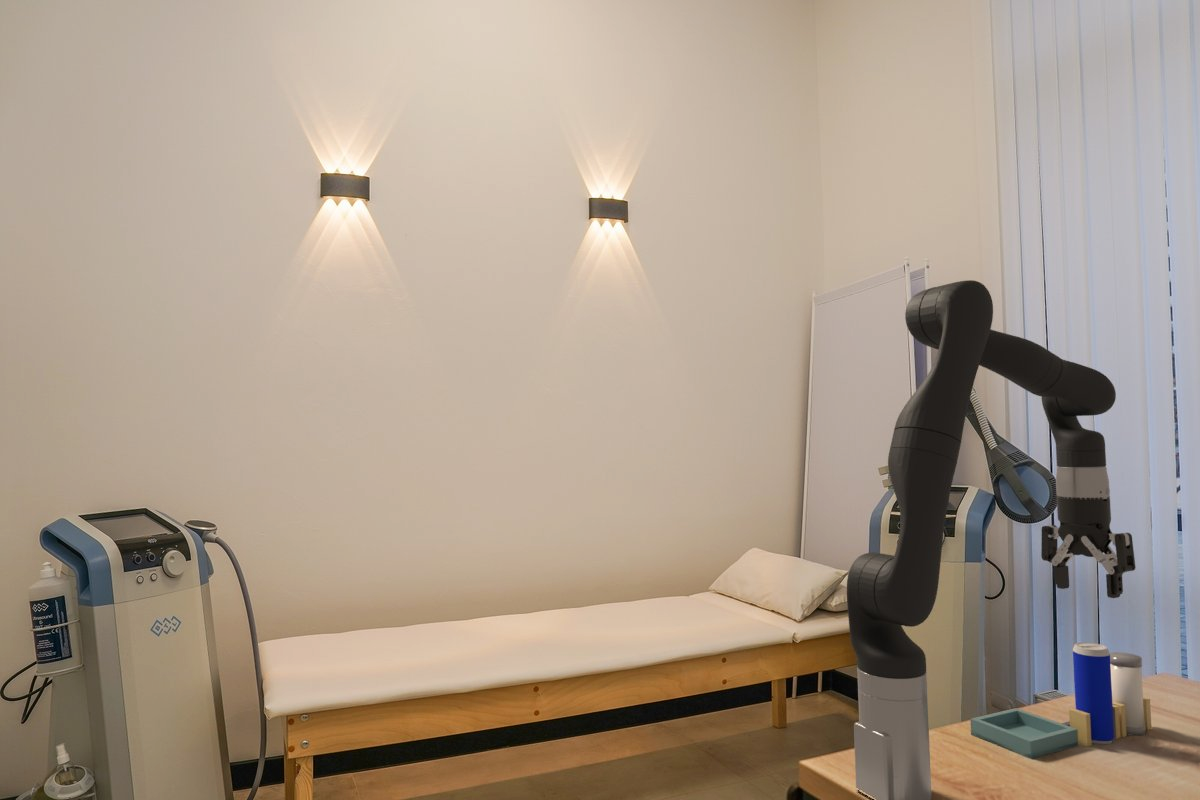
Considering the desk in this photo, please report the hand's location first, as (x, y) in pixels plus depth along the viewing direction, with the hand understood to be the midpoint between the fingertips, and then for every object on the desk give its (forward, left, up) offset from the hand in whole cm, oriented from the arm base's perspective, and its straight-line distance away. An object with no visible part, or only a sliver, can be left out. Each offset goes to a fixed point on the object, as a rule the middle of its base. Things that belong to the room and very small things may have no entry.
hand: (1087, 592), depth 128 cm
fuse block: (+4, +1, -24) cm, 24 cm away
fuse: (+8, 0, -24) cm, 25 cm away
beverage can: (0, 0, -24) cm, 24 cm away
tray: (-11, +5, -24) cm, 26 cm away
